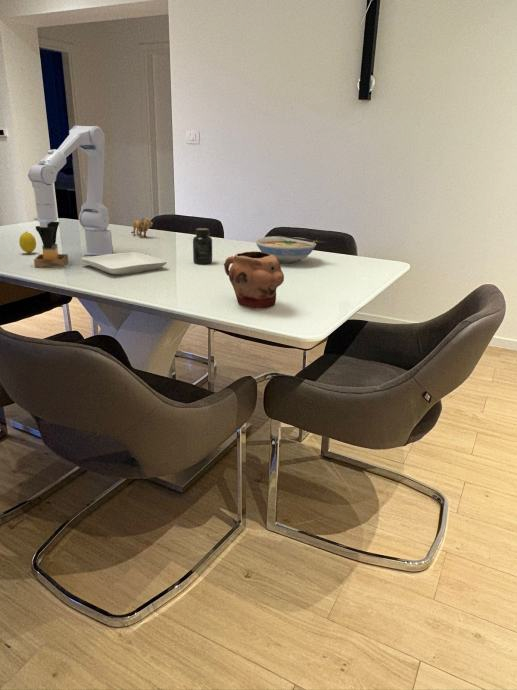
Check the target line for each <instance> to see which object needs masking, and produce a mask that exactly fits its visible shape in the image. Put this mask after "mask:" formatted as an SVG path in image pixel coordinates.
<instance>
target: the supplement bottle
mask: <svg viewBox="0 0 517 690" xmlns="http://www.w3.org/2000/svg"><path fill="white" fill-rule="evenodd" d="M192 257H193V258H192V259H193V260H192V261H193V264H197V265H202V266H203V265H210V264H212V263H213V239H212V237H211V236H210V229H209V228H205V227H204V228H203V227H199V228H195V236H194V237H193V239H192Z"/></svg>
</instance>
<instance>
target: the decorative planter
mask: <svg viewBox="0 0 517 690" xmlns="http://www.w3.org/2000/svg"><path fill="white" fill-rule="evenodd" d="M230 265H231V266H230ZM223 266H224V272H225V274H226V276H228V279H229V281H230V284H231V285H232V288H233V291H234V294H235V297H236V300H237V301H236V302H237V304H238V305H239V306H241V307H243V308H247V309H251V310H266V309H270V308H272V307H273V308H274V307H275V305H276V301H277V289H278V288H279V287H280V286H281V285H282V284H283V283H284V280H285V274H284V272H283V270H282V267H281V264H280V262H279V261H278V260H277V258H276V257H275V256H274V255H271V254H268V253H263V252H261V251H256V250H255V251H244V252H239V253H236V254H235V255H232V256H228V257H227V258H226V259H225V261H224V263H223Z"/></svg>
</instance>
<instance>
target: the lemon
mask: <svg viewBox="0 0 517 690" xmlns="http://www.w3.org/2000/svg"><path fill="white" fill-rule="evenodd" d="M36 240H37V239H36V237H35V236H34V235H33V234H32V233H30V232H28V231H25V232H23V233H22V234H21V235H20V237H19V241H18V242H19V247H20V248H21V250H22V251H23V252H25V253H27V254H28V255H29V254H31V253H33V252H34V251H35V250H36V248H37V241H36Z"/></svg>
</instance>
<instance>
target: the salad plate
mask: <svg viewBox="0 0 517 690" xmlns="http://www.w3.org/2000/svg"><path fill="white" fill-rule="evenodd" d="M80 259H81V261H82V262H83V263H84V264H86V265H88V266H90V267H93V268H95V269H97V270H99V271H103V272H105V273H108V274H110V275H114V276H115V275H116V276H121V275H128V274H129V275H130V274H135V273H136V274H137V273H142V272H147V271H155V270H157V269H160V268H163V267H164V266H165V265H167V263H168V261H166V260H164V259H162V258H158V257H154V256H152V255H147V254H144V253H141V252H136V251H130V252H128V251H127V252H121V253H112V254H108V255H91V256H86V257H84V256H83V257H80Z"/></svg>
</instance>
